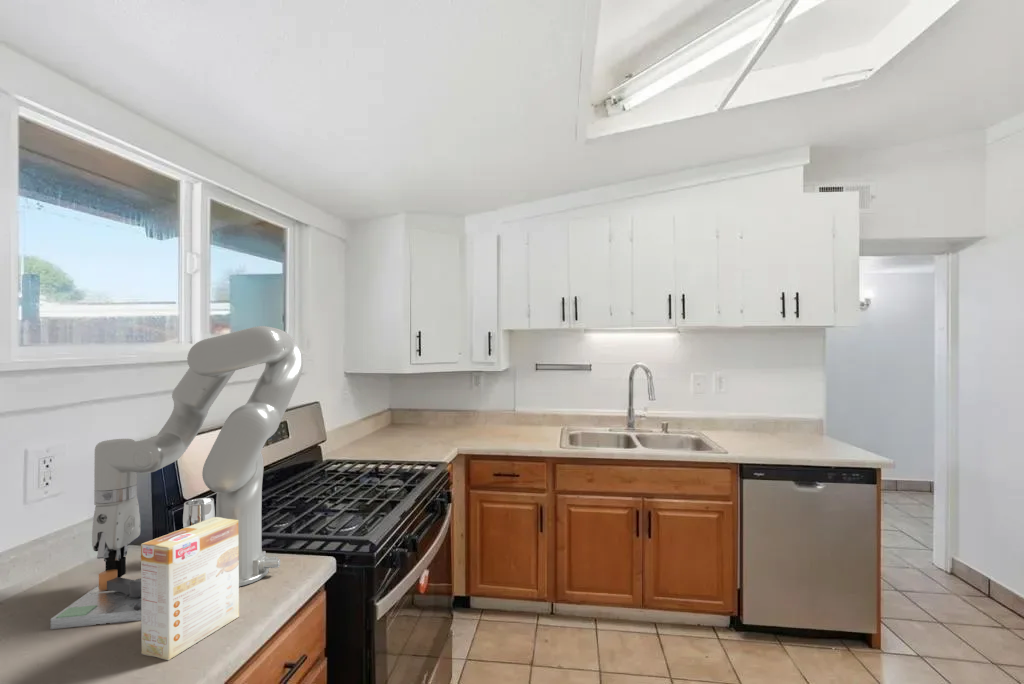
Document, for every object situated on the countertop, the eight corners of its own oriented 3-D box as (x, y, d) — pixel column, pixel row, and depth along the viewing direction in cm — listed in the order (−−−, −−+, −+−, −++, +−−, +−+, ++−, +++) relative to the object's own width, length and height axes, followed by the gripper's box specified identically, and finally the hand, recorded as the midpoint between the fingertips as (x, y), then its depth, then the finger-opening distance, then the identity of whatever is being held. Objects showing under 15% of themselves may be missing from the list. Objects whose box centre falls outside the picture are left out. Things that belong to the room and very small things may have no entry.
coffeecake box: (213, 611, 101) (213, 516, 102) (240, 617, 99) (240, 519, 100) (138, 654, 87) (139, 542, 87) (168, 661, 85) (168, 547, 85)
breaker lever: (154, 590, 106) (154, 576, 106) (137, 598, 102) (137, 583, 102) (112, 581, 110) (112, 568, 110) (93, 589, 107) (93, 575, 107)
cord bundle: (192, 583, 114) (192, 569, 114) (153, 622, 97) (153, 606, 97) (172, 585, 113) (172, 571, 113) (129, 625, 97) (129, 608, 97)
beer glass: (220, 556, 129) (220, 499, 130) (194, 567, 123) (194, 506, 123) (203, 552, 132) (203, 496, 133) (176, 562, 126) (176, 503, 126)
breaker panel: (177, 587, 112) (177, 577, 112) (142, 620, 98) (142, 608, 98) (97, 594, 109) (97, 584, 109) (50, 629, 96) (50, 617, 96)
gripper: (113, 503, 105) (113, 590, 105) (152, 485, 120) (152, 561, 119) (73, 505, 104) (73, 593, 103) (117, 487, 119) (117, 564, 118)
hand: (115, 576), depth 111 cm, fingers closed
